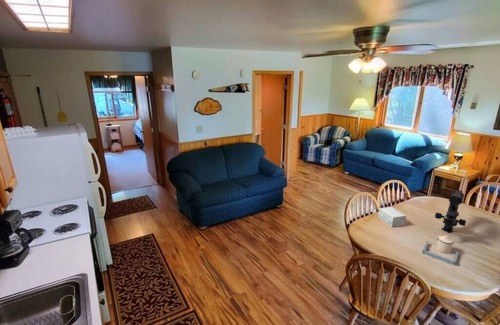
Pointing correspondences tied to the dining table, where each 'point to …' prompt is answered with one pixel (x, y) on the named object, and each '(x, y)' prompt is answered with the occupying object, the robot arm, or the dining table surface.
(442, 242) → the teacup with lid
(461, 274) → the dining table surface
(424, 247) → the dock
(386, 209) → the supplement box
